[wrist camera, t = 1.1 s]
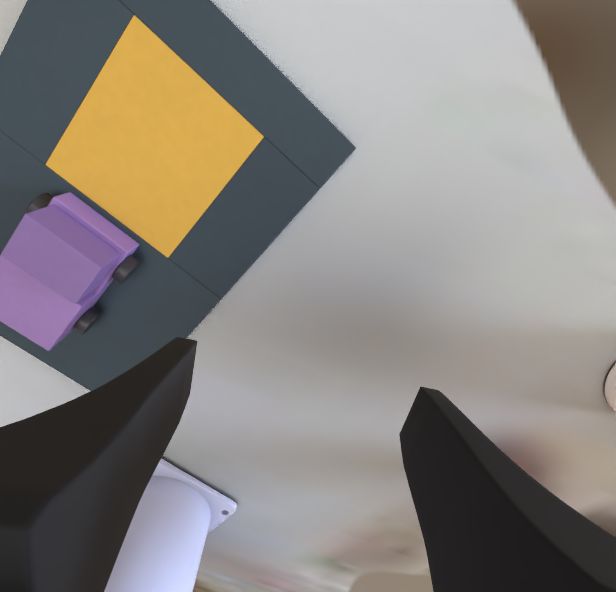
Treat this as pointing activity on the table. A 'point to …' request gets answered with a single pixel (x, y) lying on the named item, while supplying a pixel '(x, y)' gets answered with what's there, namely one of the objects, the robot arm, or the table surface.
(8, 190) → the play mat
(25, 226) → the toy truck
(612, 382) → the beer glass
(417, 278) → the table surface
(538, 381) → the table surface
